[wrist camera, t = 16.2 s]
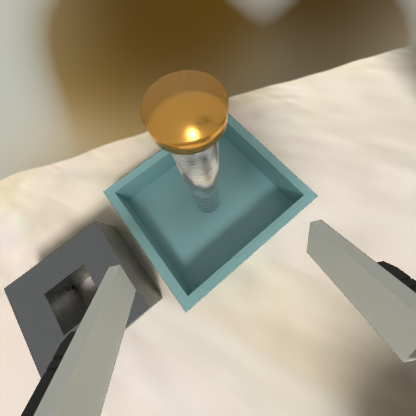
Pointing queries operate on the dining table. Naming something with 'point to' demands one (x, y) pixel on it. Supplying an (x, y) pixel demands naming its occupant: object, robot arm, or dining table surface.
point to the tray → (208, 222)
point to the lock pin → (189, 128)
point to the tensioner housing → (73, 289)
